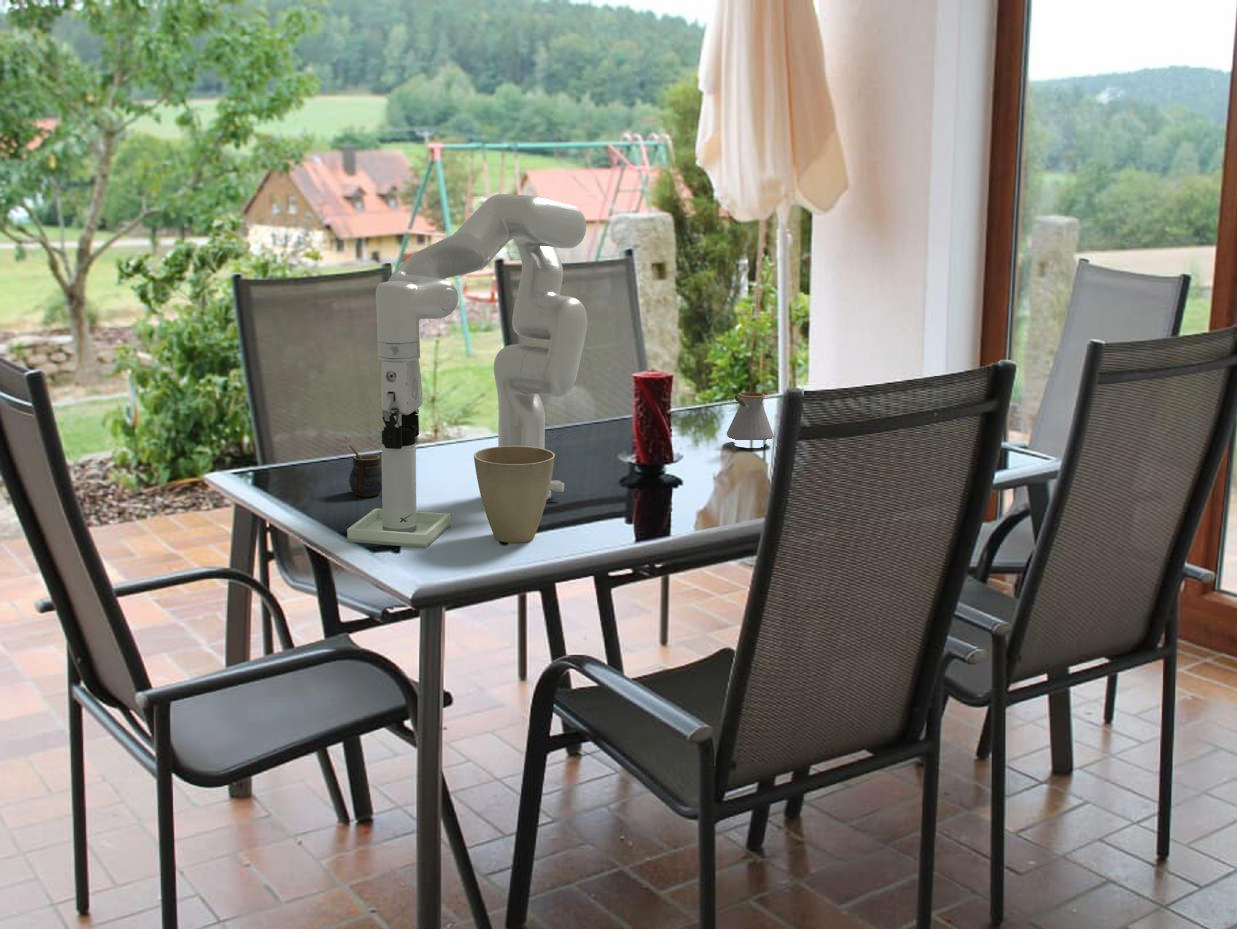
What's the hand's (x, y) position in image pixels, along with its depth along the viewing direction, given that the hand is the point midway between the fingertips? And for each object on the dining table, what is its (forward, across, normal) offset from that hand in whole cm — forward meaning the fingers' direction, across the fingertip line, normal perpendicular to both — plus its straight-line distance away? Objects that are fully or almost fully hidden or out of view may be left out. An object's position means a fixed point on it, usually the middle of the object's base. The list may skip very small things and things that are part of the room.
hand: (402, 441), depth 257 cm
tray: (+17, -1, +1) cm, 17 cm away
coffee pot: (+22, +90, -56) cm, 108 cm away
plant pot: (+18, +2, -20) cm, 27 cm away
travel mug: (+17, -1, +1) cm, 17 cm away
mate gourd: (+18, +25, +17) cm, 35 cm away
